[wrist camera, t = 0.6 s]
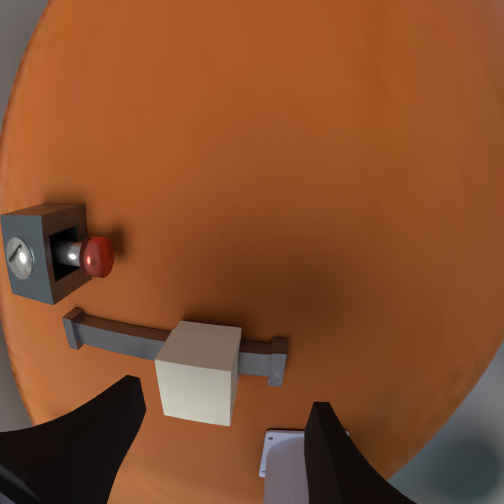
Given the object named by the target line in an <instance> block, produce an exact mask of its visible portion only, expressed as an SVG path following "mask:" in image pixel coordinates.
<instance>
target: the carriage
mask: <svg viewBox="0 0 504 504" xmlns="http://www.w3.org/2000/svg"><path fill="white" fill-rule="evenodd" d="M240 340H241V328H239V327H229V326H220V325H212V324H203V323H196V322H188V321H181V320H180V322H179V323H178V325H177V326H176V328H174V329H173V330H172V332H171V333H170V335H169V337H168V338H167V340H166V342H165V343H164V345H163V346H162V348H161V350H160V351H159V353H158V355H157V356H156V358H155V366H156V372H157V378H158V384H159V390H160V395H161V400H162V405H163V410H164V415H168V416H172V417H177V418H182V419H188V420H193V421H199V422H205V423H211V424H218V425H225V426H230V423H231V418H232V412H233V407H234V402H235V397H236V391H237V385H238V379H239V374H238V373H237V371H238V350H239V345H240Z"/></svg>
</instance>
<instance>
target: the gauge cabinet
mask: <svg viewBox="0 0 504 504" xmlns="http://www.w3.org/2000/svg"><path fill="white" fill-rule="evenodd" d="M0 217H1V228H2V237H3V244H4V251H5V258H6V264H7V269H8V275H9V280H10V284H11V289H12V293H13V294H16V295H19V296H23V297H26V298H30V299H33V300H37V301H40V302H44V303H48V304H51V305H55V304H56V303H58V302H59V301H60V300H62V299H63V298H65V297H66V296H68V295H69V294H70V293H72V292H73V291H75V290H76V289H78V288H79V287H81V286H82V285H84V284H85V283H86V282H88V281H89V280H91V276H88V275H85V274H84V273H83V271H82V270H81V267H79V266H72V265H65V264H59V263H56V262H55V261H54V260H53V257H52V249H53V246H54V244H55V243H56V242H57V241H69V242H80V243H83V241H84V240H85V239H86V238H87V231H86V213H85V204H41V205H37V206H33V207H29V208H25V209H21V210H17V211H13V212H10V213H6V214H2V215H0Z"/></svg>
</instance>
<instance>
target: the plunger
mask: <svg viewBox="0 0 504 504" xmlns="http://www.w3.org/2000/svg"><path fill="white" fill-rule="evenodd" d="M52 257H53V260H54V261H55V262H56V263H59V264H65V265H72V266H79V267H81V270H82V271H83V273H84V274H85V275H88V276H95V277H102V278H104V277H106V276H108V275H109V273H110V272H111V270H112V267H113V264H114V257H115V252H114V246H113V243H112V241H111V239H110V238H108V237H102V236H88V237H87V238H86V239H85V240H84V241H83V243H80V242H69V241H57V242H56V243H55V244H54V246H53V249H52Z"/></svg>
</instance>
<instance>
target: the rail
mask: <svg viewBox="0 0 504 504" xmlns="http://www.w3.org/2000/svg"><path fill="white" fill-rule="evenodd" d="M62 320H63V324H64V328H65V332H66V336H67V340H68V343H69V347H70V348H73V349H76V350H79V349H80V348H81V347H82V346H83V345H84V344H87V345H90V346H94V347H98V348H101V349H105V350H109V351H113V352H117V353H121V354H126V355H130V356H134V357H139V358H144V359H148V360H153V361H155V358H156V356H157V355H158V353H159V351H160V350H161V348H162V346H163V345H164V343H165V342H166V340H167V338H168V337H169V335H170V333H171V331H165V330H159V329H153V328H147V327H141V326H136V325H131V324H125V323H120V322H115V321H110V320H106V319H101V318H97V317H92V316H88V315H84V312H83V309H78V308H74V309H72V310H71V311H70V312H68V313H67V314H66V315H65V316H63V317H62ZM286 356H287V348H286V339H284V338H272V343H263V342H251V341H241V340H240V345H239V350H238V371H237V373H238V374H247V375H258V376H268V386H280V387H282V381H283V375H284V369H285V363H286Z"/></svg>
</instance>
